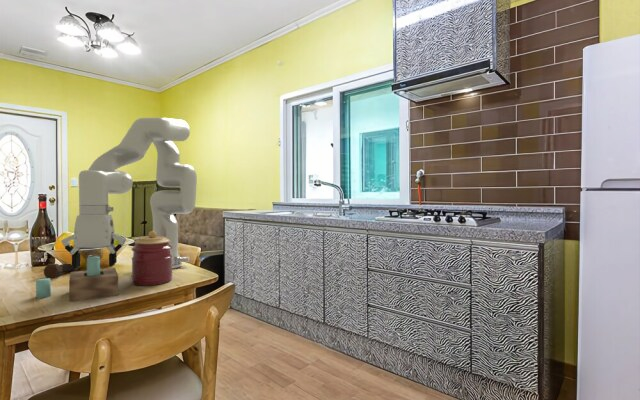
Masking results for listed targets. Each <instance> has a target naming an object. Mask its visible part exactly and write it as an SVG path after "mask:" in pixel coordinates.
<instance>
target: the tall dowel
mask: <svg viewBox="0 0 640 400" xmlns="http://www.w3.org/2000/svg"><path fill="white" fill-rule="evenodd" d="M100 269H101V256H89V257H87V258H86V271H87V276H94V275H100Z"/></svg>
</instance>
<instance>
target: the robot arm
mask: <svg viewBox="0 0 640 400" xmlns="http://www.w3.org/2000/svg"><path fill="white" fill-rule="evenodd" d="M190 132H191V128H190V126H189V124H188V122H187V121H185V120H183V119H179V118H168V117H139V118H137V119H136V120H134V121H133V123H132V124H131V126H130V127H129V128H128V130H127V132H126V134H125V135H124V136H123V138H122V140H121V141H120V143H119V144H117V145H116V146H114V147H112V148H111V149H109V150H107V151H106V152H104V153H102V154H101V155H100V156H98V157H97V158H96V159H95V160H94V161H93V162H92V163H91V165H90V167H89V168H88V170H82V171H80V172H79V174H78V208H79V209H78V213H79V214H77V215H76V217H75V223H74V229H73V234H71V235H70V236H67V237H65V238H64V239H61V244H62V245H63V247H64V249H65V250H66V251H67V252H68V253H69V255H71V260H72V265H73V267H74V268H76V267H78V266H80V261H81V253H80V251H81V249H104V248H105V249H107V250H108V252H110V253H109V254H108V266H109V268H113V266H115V264H116V263H117V256H118V255H117V252H119V251H120V250H121V249H122V248H123V246H124V244H125V243H126V240H127V239H126V238H125V237H123V236H121V235H119V234H118V233H117V234H116V233H115V226H114V225H115V224H114V220H113V216H112V214H109V213H110V212H114V206H110V205H109V194H110V195H122V194H125V193H128V192H129V191H130V190H131V189H132V188H133V183H134V182H133V178H132V176H131V175H130V174H129V173H127V172H125V171H123V170H117V169H120V168H122V167H124V166H128V165H130V164H134V163H137V162H140V161H141V160H142V159H143V158H144V157H145V155H146V153H147V151H148V150H149V149H150V146H151V145H152V144H154V148H155V149H156V152H157V153H156V154H157V157H156V159H157V160H156V175H155V178H156V183H157V185H158V186H159V187H163V188H179V189H180V190H173V189H172V190H171V189H170V190H167V189H166V190H164V189H163V190H157V191H155V192H153V193H152V195H151V196H150V200H149V204H150V209H151V215H152V231H155V232H156V234H157V236H164V237H166V238H167V239H169V240H170V242H169V244H170V245H171V246H172V247H173V248H172V249H171V255H172V256H173V257H172V270H173V269H176V268H181V267H182V265H183V263H189V262H190V257H188V256H183V257H182V256H180V254H179V223H178V220H177V218H176V216H175V214H176V215H177V214H178V215H189V214H190V213H193V211H194V210H195V206H196V199H197V198H196V197H197V185H198V184H197V171H196V170H195V168H194V167H193V166H192V165H190V164H184V163H183V164H181V163H180V155H181V154H180V151H179V149H178V147H177V146H176V144H175V143H174V142H185V141H186V140H188V139H189V137H190ZM116 240H117V241H118V244H117V245H115V242H116ZM71 241H73V245H74V246H73V245H71V243H70V242H71Z"/></svg>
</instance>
